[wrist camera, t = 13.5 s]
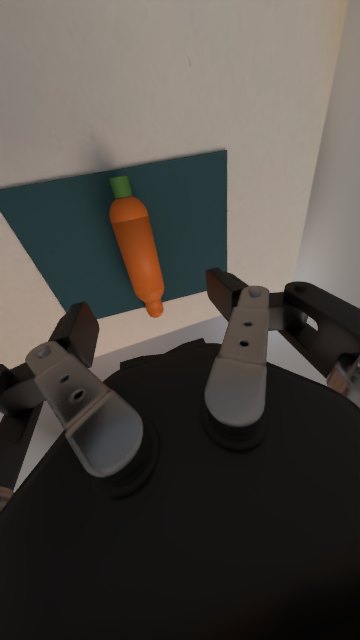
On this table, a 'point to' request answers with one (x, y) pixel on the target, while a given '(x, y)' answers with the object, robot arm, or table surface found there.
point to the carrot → (137, 245)
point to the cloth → (99, 238)
